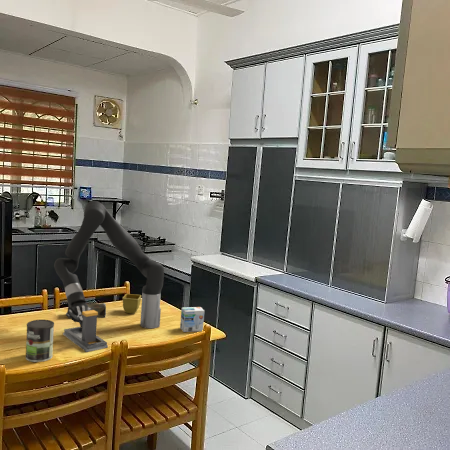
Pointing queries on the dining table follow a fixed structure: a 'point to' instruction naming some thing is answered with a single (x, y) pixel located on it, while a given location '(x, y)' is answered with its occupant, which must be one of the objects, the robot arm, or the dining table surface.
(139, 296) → the flower pot
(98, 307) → the beverage carton
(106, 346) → the fader console
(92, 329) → the fader tab
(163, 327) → the dining table surface
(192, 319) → the light bulb box
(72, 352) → the dining table surface
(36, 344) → the coffee can
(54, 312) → the dining table surface
